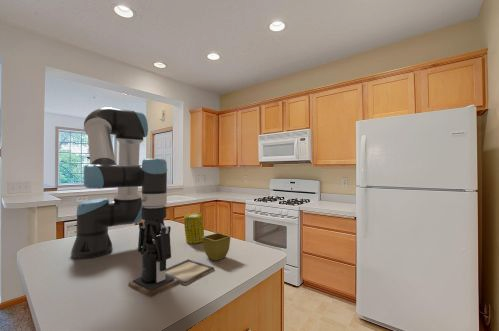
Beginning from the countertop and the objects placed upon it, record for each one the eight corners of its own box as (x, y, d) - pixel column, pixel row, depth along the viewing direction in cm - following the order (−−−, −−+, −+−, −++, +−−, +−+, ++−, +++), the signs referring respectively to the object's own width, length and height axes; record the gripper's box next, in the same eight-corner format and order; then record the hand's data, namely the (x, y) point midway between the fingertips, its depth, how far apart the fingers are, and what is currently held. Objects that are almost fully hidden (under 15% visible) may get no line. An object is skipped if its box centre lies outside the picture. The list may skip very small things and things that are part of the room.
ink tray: (128, 285, 74) (128, 282, 74) (156, 273, 82) (156, 270, 82) (150, 297, 67) (150, 293, 67) (178, 282, 75) (178, 279, 75)
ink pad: (133, 281, 74) (133, 280, 74) (155, 272, 81) (155, 270, 81) (151, 291, 69) (151, 289, 69) (173, 280, 75) (173, 278, 75)
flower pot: (201, 258, 97) (201, 236, 97) (217, 252, 103) (217, 232, 103) (214, 264, 91) (214, 241, 91) (231, 257, 97) (231, 236, 97)
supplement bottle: (137, 283, 72) (137, 244, 72) (150, 273, 79) (150, 238, 79) (156, 285, 71) (157, 245, 71) (168, 275, 77) (169, 239, 77)
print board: (157, 274, 82) (157, 271, 82) (188, 261, 93) (188, 258, 93) (184, 285, 74) (184, 282, 74) (214, 269, 85) (214, 267, 86)
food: (206, 245, 118) (186, 249, 113) (200, 234, 128) (181, 237, 123) (207, 217, 114) (187, 220, 110) (200, 208, 124) (181, 211, 120)
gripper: (126, 205, 77) (125, 274, 77) (163, 211, 66) (162, 291, 66) (147, 202, 84) (146, 266, 83) (184, 207, 73) (183, 280, 72)
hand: (153, 277), depth 75 cm, fingers closed on supplement bottle, 7 cm apart
